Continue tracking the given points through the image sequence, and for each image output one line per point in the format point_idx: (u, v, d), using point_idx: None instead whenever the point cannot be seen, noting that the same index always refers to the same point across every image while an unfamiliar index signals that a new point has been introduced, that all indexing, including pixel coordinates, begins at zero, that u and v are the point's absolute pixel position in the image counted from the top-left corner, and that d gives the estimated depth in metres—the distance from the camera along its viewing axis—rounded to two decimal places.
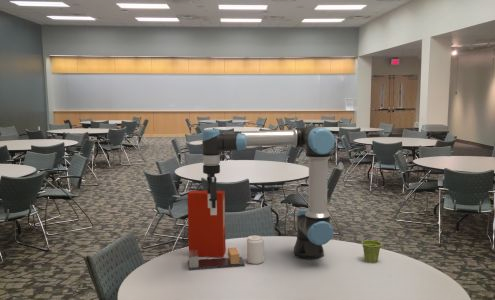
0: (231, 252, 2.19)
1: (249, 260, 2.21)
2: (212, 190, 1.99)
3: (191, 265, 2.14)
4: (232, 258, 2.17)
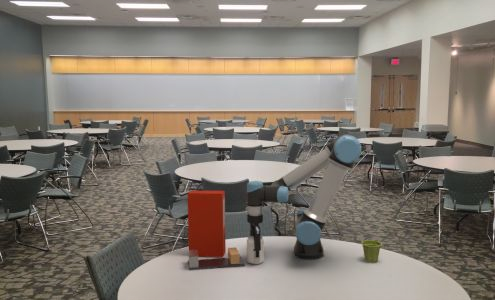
0: (231, 252, 2.19)
1: (249, 260, 2.21)
2: (256, 242, 2.16)
3: (191, 265, 2.14)
4: (232, 258, 2.17)
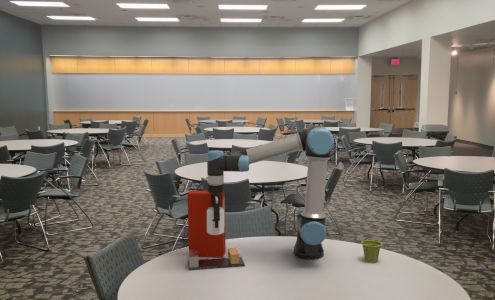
0: (231, 252, 2.19)
1: (208, 231, 2.16)
2: (215, 211, 2.11)
3: (191, 265, 2.14)
4: (232, 258, 2.17)
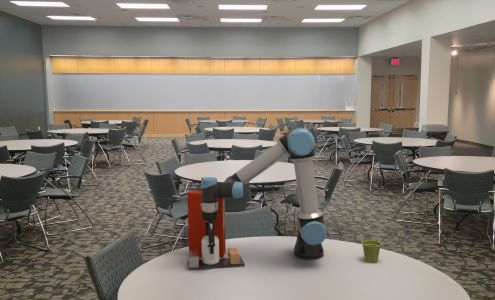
0: (231, 252, 2.19)
1: (204, 260, 2.17)
2: (210, 237, 2.10)
3: (191, 265, 2.14)
4: (232, 258, 2.17)
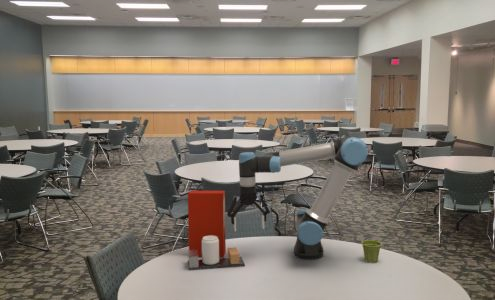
0: (231, 252, 2.19)
1: (204, 261, 2.17)
2: (230, 207, 2.19)
3: (191, 265, 2.14)
4: (232, 258, 2.17)
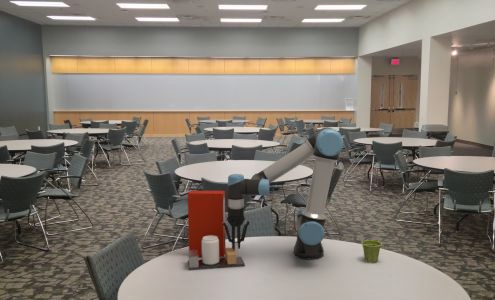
0: (228, 252, 2.19)
1: (204, 261, 2.17)
2: None
3: (191, 265, 2.14)
4: (229, 258, 2.16)
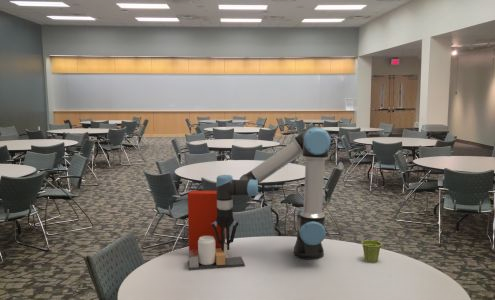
0: (217, 253, 2.18)
1: (200, 261, 2.17)
2: None
3: (191, 265, 2.14)
4: (218, 259, 2.16)
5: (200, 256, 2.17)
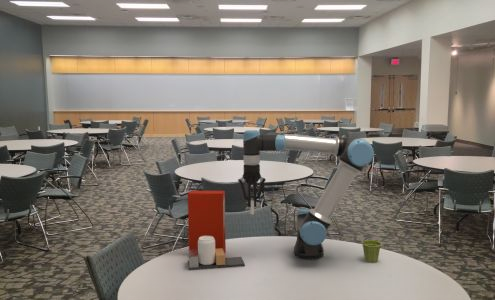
0: (217, 253, 2.18)
1: (200, 261, 2.17)
2: (242, 190, 2.16)
3: (191, 265, 2.14)
4: (218, 259, 2.16)
5: (200, 256, 2.17)
